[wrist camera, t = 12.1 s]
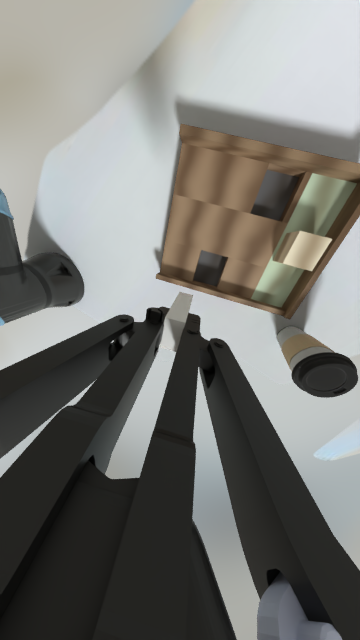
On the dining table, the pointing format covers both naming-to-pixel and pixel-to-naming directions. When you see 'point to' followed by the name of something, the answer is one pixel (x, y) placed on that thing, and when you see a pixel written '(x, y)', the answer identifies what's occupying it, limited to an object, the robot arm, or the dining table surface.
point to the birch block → (301, 249)
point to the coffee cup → (316, 364)
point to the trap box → (253, 217)
